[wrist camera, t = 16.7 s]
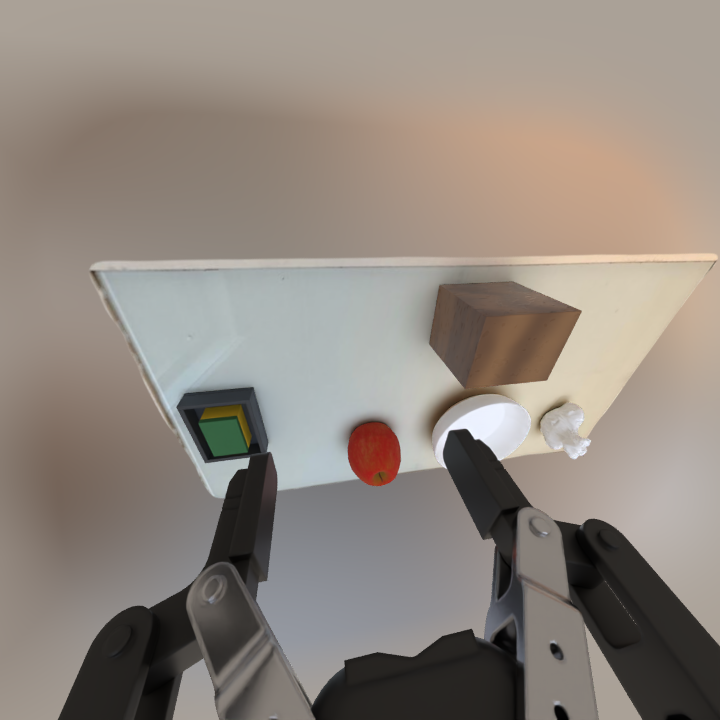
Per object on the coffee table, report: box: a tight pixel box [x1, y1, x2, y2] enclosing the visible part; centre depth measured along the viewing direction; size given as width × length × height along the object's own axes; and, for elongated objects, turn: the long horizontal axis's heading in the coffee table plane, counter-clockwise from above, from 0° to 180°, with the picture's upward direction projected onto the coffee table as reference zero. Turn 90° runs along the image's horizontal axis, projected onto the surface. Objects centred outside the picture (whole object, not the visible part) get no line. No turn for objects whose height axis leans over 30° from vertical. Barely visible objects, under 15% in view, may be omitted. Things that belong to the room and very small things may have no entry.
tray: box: [177, 387, 268, 463], centre depth 43 cm, size 13×10×3 cm
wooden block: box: [429, 282, 582, 389], centre depth 36 cm, size 12×10×12 cm
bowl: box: [432, 394, 531, 469], centre depth 52 cm, size 20×20×6 cm
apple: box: [348, 422, 401, 486], centre depth 48 cm, size 10×10×10 cm
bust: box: [540, 402, 591, 459], centre depth 55 cm, size 12×8×11 cm
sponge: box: [198, 404, 252, 457], centre depth 43 cm, size 8×6×4 cm
